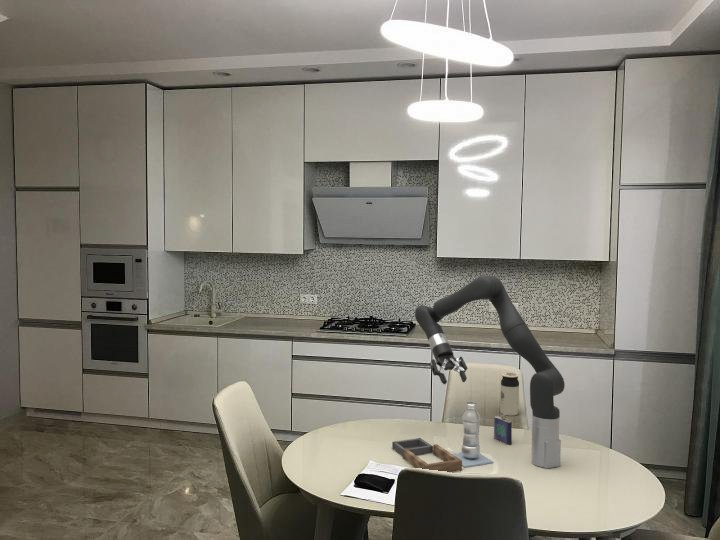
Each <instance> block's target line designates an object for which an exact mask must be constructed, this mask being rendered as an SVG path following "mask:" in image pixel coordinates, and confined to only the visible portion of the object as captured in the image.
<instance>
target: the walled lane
mask: <svg viewBox="0 0 720 540" xmlns="http://www.w3.org/2000/svg"><path fill="white" fill-rule="evenodd" d="M432 446H433V453H432V455H433V456H436V458H438V459H440V460H441V461H439V462H433V463H432V462H431V463H427V462H426V461H424V460H423V459H422V458H420V457H419V455H415V454H413V453H412V452H411V451H409V450H408V449H403V456H402V459H403V460H404V461H405V462H407V463H408V464H409V465H411V466H412V467H413V468H414V469H416V468H422V469H429V470H438V471H447V472H449V473H454V471H455V472H460V471H462V469H463V467H462V460H461V459H459V458H457V457H456V456H454V455H453V454H454V453H451V452H450V451H448V450H447V449H445V448H443V447H441V445H439V444H436V443H435V444H433V445H432Z"/></svg>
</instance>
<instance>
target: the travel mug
mask: <svg viewBox="0 0 720 540" xmlns="http://www.w3.org/2000/svg"><path fill="white" fill-rule="evenodd" d="M501 377H502V379H501V381H500V414H501V415H505V416H509V417H510V416H511V417H514V416H517V415H518V414H519V411H520V409H519V402H520V401H519V399H520V381H519V380H518V378H519V374H518V373H515V372H502V373H501Z"/></svg>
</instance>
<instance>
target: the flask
mask: <svg viewBox="0 0 720 540" xmlns="http://www.w3.org/2000/svg"><path fill="white" fill-rule="evenodd" d="M493 421H494V422H493V440H495V439H496V440H497V441H498V442H500V441H501V442H502V443H503V444H504V443H505V445H507V446H511V445H512V444H513V443H512V441H513V440H512V439H513V437H512V436H513V434H512V432H513V430H512V429H513V427H512V426H513V423H512V420H510V419H508V418H507V417H506V415H504V414H500V416H498V415H495V416H494V417H493ZM496 440H495V441H496ZM501 442H500V443H501Z"/></svg>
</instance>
